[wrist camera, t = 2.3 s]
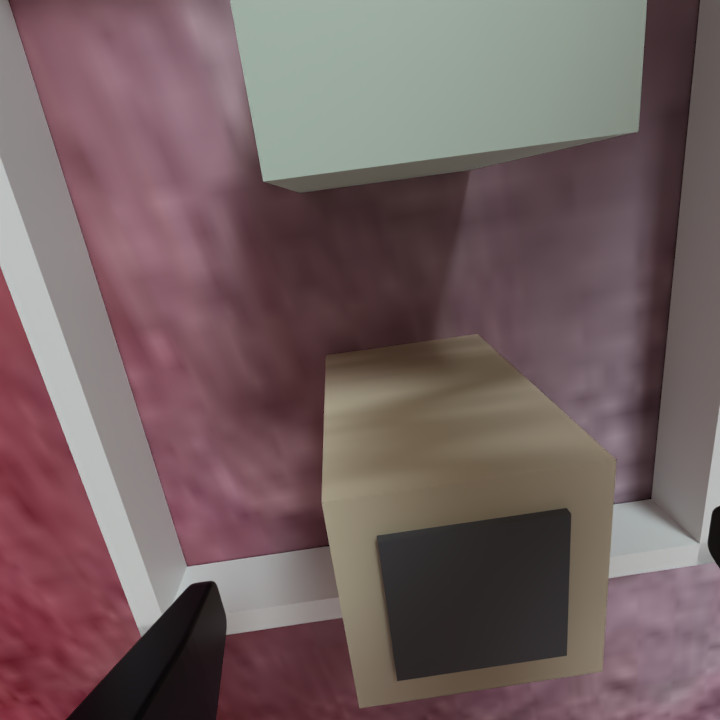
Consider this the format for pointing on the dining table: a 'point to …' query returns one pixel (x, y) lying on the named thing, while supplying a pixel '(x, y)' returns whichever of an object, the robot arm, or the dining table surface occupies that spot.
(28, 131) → the white square frame
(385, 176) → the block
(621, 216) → the dining table surface
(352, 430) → the labelled block
